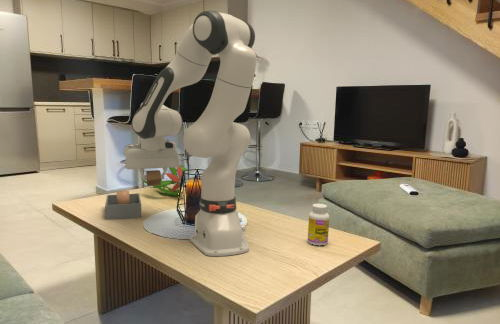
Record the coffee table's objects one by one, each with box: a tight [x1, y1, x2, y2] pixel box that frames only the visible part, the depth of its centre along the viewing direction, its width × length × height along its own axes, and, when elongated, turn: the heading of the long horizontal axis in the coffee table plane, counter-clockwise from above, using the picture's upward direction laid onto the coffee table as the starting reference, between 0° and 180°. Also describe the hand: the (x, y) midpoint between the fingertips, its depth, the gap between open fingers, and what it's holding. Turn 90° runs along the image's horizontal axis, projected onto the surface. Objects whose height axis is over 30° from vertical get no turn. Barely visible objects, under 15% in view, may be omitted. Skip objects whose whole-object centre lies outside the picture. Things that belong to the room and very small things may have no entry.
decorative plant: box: [140, 164, 189, 197], centre depth 181 cm, size 26×25×30 cm
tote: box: [104, 193, 142, 221], centre depth 151 cm, size 17×13×6 cm
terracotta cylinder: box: [116, 190, 130, 205], centre depth 154 cm, size 5×5×7 cm
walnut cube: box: [145, 169, 162, 187], centre depth 141 cm, size 5×5×5 cm
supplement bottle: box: [307, 203, 330, 246], centre depth 121 cm, size 7×7×13 cm
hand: (153, 179), depth 141 cm, fingers closed on walnut cube, 5 cm apart
